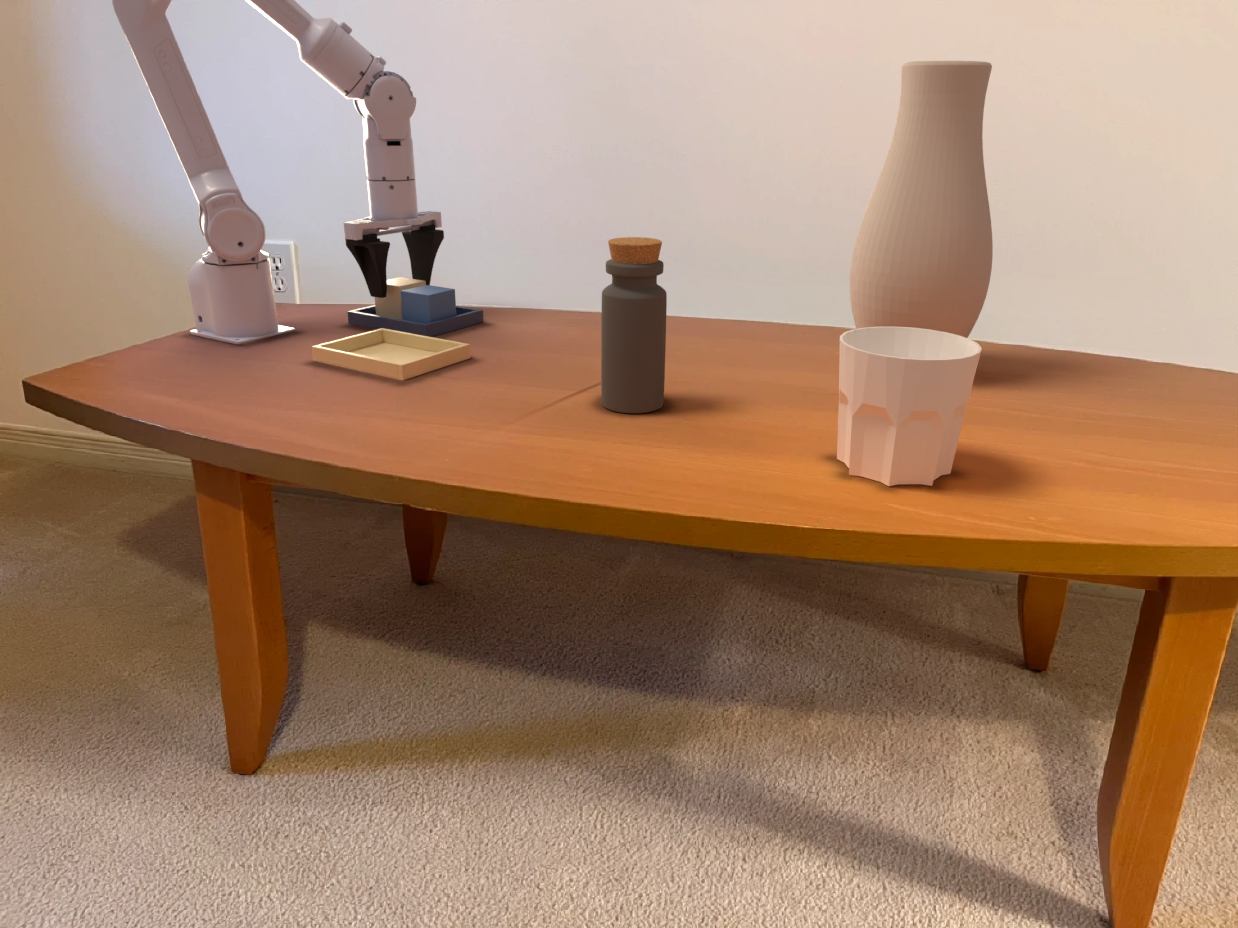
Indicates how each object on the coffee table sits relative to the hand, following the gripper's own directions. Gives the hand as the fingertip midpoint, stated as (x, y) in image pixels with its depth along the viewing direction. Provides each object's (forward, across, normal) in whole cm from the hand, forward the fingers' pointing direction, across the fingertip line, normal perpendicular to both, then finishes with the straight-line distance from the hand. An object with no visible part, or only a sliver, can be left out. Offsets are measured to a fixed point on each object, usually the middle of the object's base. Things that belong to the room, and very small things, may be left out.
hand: (400, 291), depth 114 cm
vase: (+4, +14, -60) cm, 62 cm away
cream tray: (+4, -15, -13) cm, 21 cm away
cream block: (+3, 0, 0) cm, 3 cm away
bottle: (+4, -13, -42) cm, 45 cm away
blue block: (+3, -2, -7) cm, 8 cm away
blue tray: (+4, -1, -3) cm, 5 cm away
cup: (+4, -15, -67) cm, 69 cm away
